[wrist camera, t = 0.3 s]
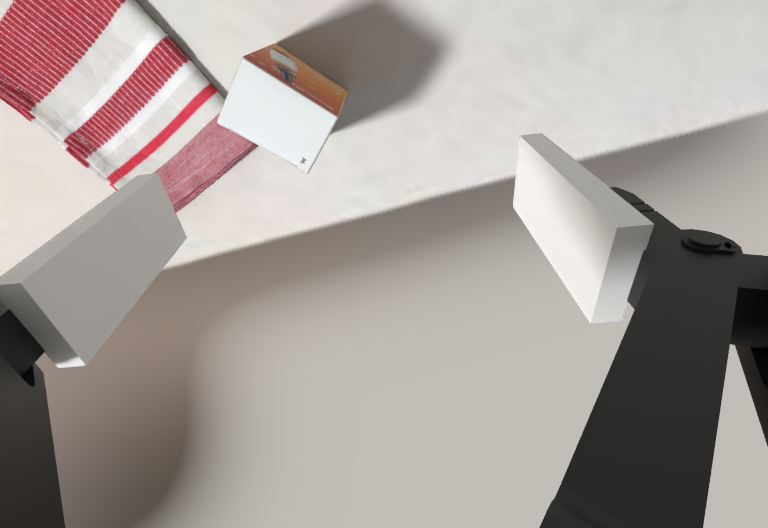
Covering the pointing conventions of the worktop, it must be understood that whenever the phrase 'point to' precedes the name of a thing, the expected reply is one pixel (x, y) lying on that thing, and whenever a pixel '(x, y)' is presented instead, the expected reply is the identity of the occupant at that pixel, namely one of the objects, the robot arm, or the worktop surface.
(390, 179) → the worktop surface
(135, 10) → the dish towel
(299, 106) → the small box
